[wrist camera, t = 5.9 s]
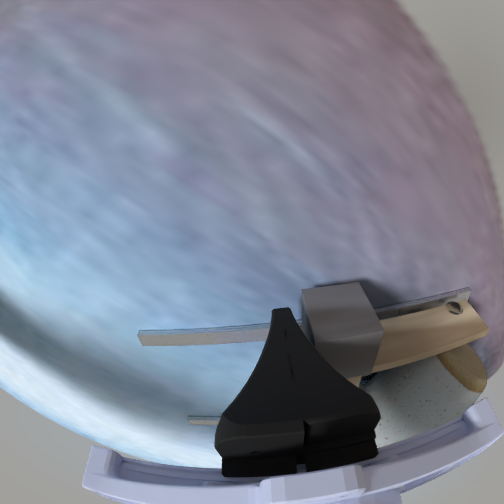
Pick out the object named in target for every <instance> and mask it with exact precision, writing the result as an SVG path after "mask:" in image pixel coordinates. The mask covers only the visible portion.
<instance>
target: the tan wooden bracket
mask: <svg viewBox="0 0 504 504" xmlns="http://www.w3.org/2000/svg"><path fill="white" fill-rule="evenodd" d="M488 330H489V328H488V327H487V325H486V324H485V323H484V321H483V320H482V319H481V317H480V316H479V315H478V314H477V312H476V311H475V310H474V309H473V307H472V306H471V305H470V304H469V303H468V301H467V300H466V299H465V300H462V301H458V302H454V301H451V302H448V303H447V304H446V305H444V306H440V307H436V308H432V309H428V310H424V311H420V312H416V313H411V314H407V315H403V316H398V317H393V318H389V319H384V320H379V319H378V317H377V315H376V313H375V311H374V309H373V307H372V305H371V303H370V302H369V300H368V298H367V296H366V294H365V292H364V291H363V289H362V287H361V285H360V283H359V282H354V283H347V284H340V285H332V286H325V287H317V288H309V289H302V331H303V333H304V334H305V336H306V337H307V339H308V340H309V341H310V343H311V344H312V345H313V346H314V348H315V349H316V350H317V351H318V353H319V354H320V355H321V356H322V357H323V358H324V359H325V360H326V361H327V362H328V363H329V364H330V365H331V366H332V367H333V368H334V369H335V370H336V371H338V372H339V373H340V374H341V375H342V376H344V377H345V378H346V379H347V380H348V381H350V382H351V383H353V384H354V385H355V386H357V387H359V383H360V380H361V377H362V376H367V375H371V373H374V372H378V371H382V370H386V369H390V368H394V367H398V366H401V365H405V364H408V363H412V362H415V361H419V360H422V359H425V358H428V357H431V356H434V355H437V354H440V353H443V352H446V351H448V350H451V349H454V348H457V347H459V346H462V345H464V344H467V343H469V342H472V341H474V340H477V339H479V338H481V337H484V336H486V334H487V332H488Z"/></svg>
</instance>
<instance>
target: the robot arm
mask: <svg viewBox="0 0 504 504" xmlns="http://www.w3.org/2000/svg"><path fill="white" fill-rule="evenodd" d="M380 419H381V415H380V411H379V409H378V406H377V405H376V403H375V401H374V399H373V398H372V396H371V395H370V394H368V393H366V392H365V391H363V390H361V389H360V388H358V387H357V386H355V385H354V384H353V383H351V382H350V381H348V380H347V379H346V378H345V377H344V376H342V375H341V374H340V373H339V372H338V371H336V370H335V369H334V368H333V367H332V366H331V365H330V364H329V363H328V362H327V361H326V360H325V359H324V358H323V357H322V356H321V355H320V354H319V353H318V351H317V350H316V349H315V348H314V346H313V345H312V344H311V343H310V341H309V340H308V339H307V337H306V336H305V334H304V333H303V331H302V330H301V328H300V327H299V325H298V323H297V322H296V320H295V318H294V316H293V314H292V311H291V309H290V308H289V307H287V308H278V309H273V310H272V319H271V325H270V329H269V333H268V337H267V340H266V343H265V346H264V348H263V351H262V354H261V356H260V358H259V361H258V363H257V365H256V367H255V369H254V371H253V372H252V374H251V376H250V378H249V379H248V381H247V383H246V384H245V386H244V387H243V389H242V390H241V391H240V393H239V394H238V395H237V397H236V398H235V399H234V401H233V402H232V403H231V404H230V405H229V407H228V408H227V409H226V410H225V411H224V412H223V413H222V415H221V418H220V420H219V423H218V426H217V429H216V434H215V449H216V450H217V452H218V453H219V454H220V456H221V457H222V469H217V468H197V467H184V466H174V465H166V464H159V463H152V462H145V461H140V460H135V459H130V458H125V457H122V456H121V455H120V454H119V453H117V452H116V451H113V450H110V449H106V448H102V447H99V446H95V445H93V446H92V448H91V451H90V455H89V458H88V462H87V466H86V469H85V473H84V477H83V481H82V486H83V487H84V488H86V489H88V490H90V491H92V492H94V493H97V494H99V495H101V496H103V497H106V498H108V499H110V500H113V501H117V502H120V503H123V504H402V501H401V496H400V494H401V493H404V492H406V491H409V490H411V489H413V488H415V487H418V486H420V485H422V484H425V483H427V482H429V481H431V480H433V479H435V478H437V477H439V476H441V475H443V474H445V473H447V472H449V471H450V470H452V469H454V468H456V467H458V466H460V465H461V464H463V463H465V462H466V461H468V460H470V459H472V458H473V457H475V456H477V455H478V454H479V453H481V452H482V451H484V450H485V449H486V448H487V447H488V446H490V445H491V444H492V443H494V442H495V441H496V440H497V439H498V438H500V437H501V436H502V435H503V434H504V431H503V429H502V427H501V425H500V422H499V420H498V418H497V416H496V414H495V412H494V410H493V408H492V406H491V404H490V402H489V400H488V398H484V399H482V400H480V401H478V402H477V403H475V404H473V405H471V406H470V407H469V408H467V409H466V410H465V411H464V413H463V414H462V415H461V416H459V417H457V418H455V419H453V420H451V421H449V422H447V423H445V424H442V425H440V426H438V427H436V428H433V429H431V430H428V431H426V432H424V433H421V434H418V435H416V436H413V437H410V438H408V439H405V440H402V441H399V442H396V443H393V444H390V445H387V446H384V447H380V448H377V445H376V442H375V439H376V433H375V430H374V429H375V428H376V426H377V425H378V423H379V421H380Z"/></svg>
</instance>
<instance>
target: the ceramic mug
mask: <svg viewBox="0 0 504 504" xmlns="http://www.w3.org/2000/svg"><path fill="white" fill-rule="evenodd" d="M486 384H487V373H486V369H485V367H484V365H483V363H482V362H481V360H480V358H479V357H478V355H477V354H476V353H475V351H474V350H473V349H472V348H471V346H470V345H469V344H468V343H467V344H464V345H462V346H459V347H457V348H454V349H451V350H448V351H446V352H443V353H440V354H437V355H434V356H431V357H428V358H425V359H422V360H419V361H415V362H412V363H408V364H405V365H401V366H398V367H394V368H390V369H386V370H382V371H379V372H378V373H377V374H376V375H375V376H374V377H373V378H372V379H370V380H369V381H368V382H367V383H366V384H365V385H362V384H361V383H359V387H358V388H360V389H361V390H363V391H365V392H366V393H368V394H370V395H371V396H372V398H373V399H374V401H375V403H376V405H377V406H378V409H379V411H380V415H381V419H380V421H379V423H378V425H377V426H376V428H375V429H374V430H375V433H376V439H375V442H376V445H377V446H378V447H379V448H380V447H384V446H387V445H390V444H393V443H396V442H399V441H402V440H405V439H408V438H410V437H413V436H416V435H418V434H421V433H424V432H426V431H428V430H431V429H433V428H436V427H438V426H440V425H442V424H445V423H447V422H449V421H451V420H453V419H455V418H457V417H459V416H461V415H462V414H463V413H464V411H465V410H466V409H467V408H469V407H470V406H471V405H473V404H474V402H475V401H476V400H477V398H478V397H479V396H480V395H481V393H482V392H483V390H484V388H485V387H486Z"/></svg>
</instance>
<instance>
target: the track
mask: <svg viewBox="0 0 504 504" xmlns="http://www.w3.org/2000/svg"><path fill="white" fill-rule="evenodd" d="M470 293H471V290H470V289H469V287H468V288H464V289H461V290H457V291H453V292H449V293H445V294H441V295H436V296H432V297H428V298H423V299H419V300H414V301H410V302H405V303H400V304H395V305H390V306H385V307H380V308H374V311H375V313H376V315H377V317H378V319H379V320H384V319H389V318H393V317H398V316H403V315H407V314H411V313H416V312H420V311H424V310H428V309H432V308H436V307H440V306H444V305H446V304H447V303H448V302H451V301H454V302H458V301H462V300H465V299H466V300H467V301H468V298H469V295H470ZM296 322H297V323H298V325H299V327H300V328H301V330H302V320H296ZM270 325H271V323H268V324H258V325H247V326H235V327H221V328H205V329H186V330H154V331H139V332H138V334H137V336H138V338H139V340H140V342H141V344H142V345H143V346H180V345H208V344H226V343H241V342H253V341H264V340H267V337H268V333H269V329H270ZM220 418H221V417H191V416H188V421H189V423H190V424H195V425H218V423H219V420H220Z"/></svg>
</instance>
